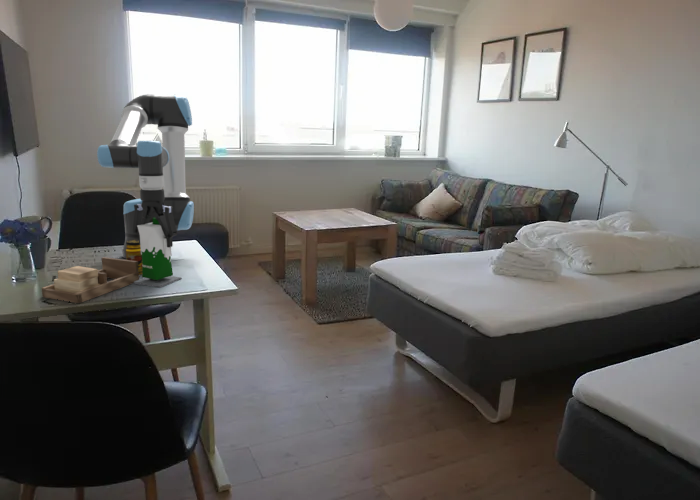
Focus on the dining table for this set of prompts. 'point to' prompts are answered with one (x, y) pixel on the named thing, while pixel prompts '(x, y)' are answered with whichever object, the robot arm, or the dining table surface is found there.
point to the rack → (100, 281)
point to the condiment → (134, 253)
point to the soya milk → (154, 252)
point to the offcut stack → (76, 279)
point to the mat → (157, 281)
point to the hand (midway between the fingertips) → (156, 255)
